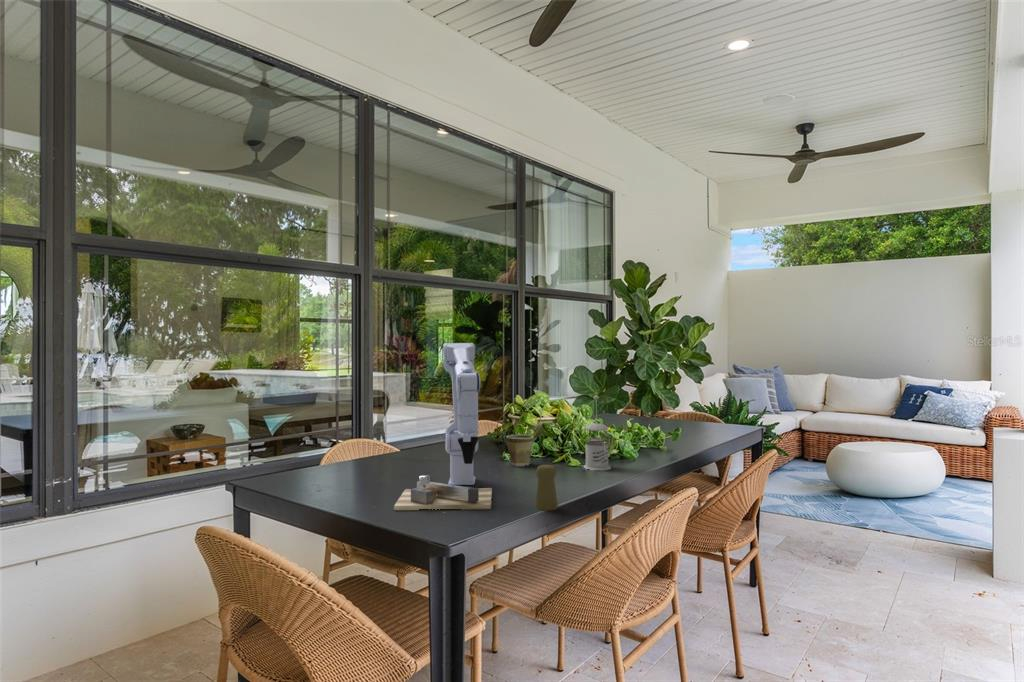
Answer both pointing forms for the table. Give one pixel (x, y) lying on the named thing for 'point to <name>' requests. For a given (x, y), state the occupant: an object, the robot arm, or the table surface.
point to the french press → (597, 447)
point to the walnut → (432, 490)
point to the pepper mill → (546, 488)
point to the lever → (450, 490)
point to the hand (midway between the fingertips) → (468, 463)
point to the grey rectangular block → (422, 496)
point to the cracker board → (445, 502)
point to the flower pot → (520, 449)
